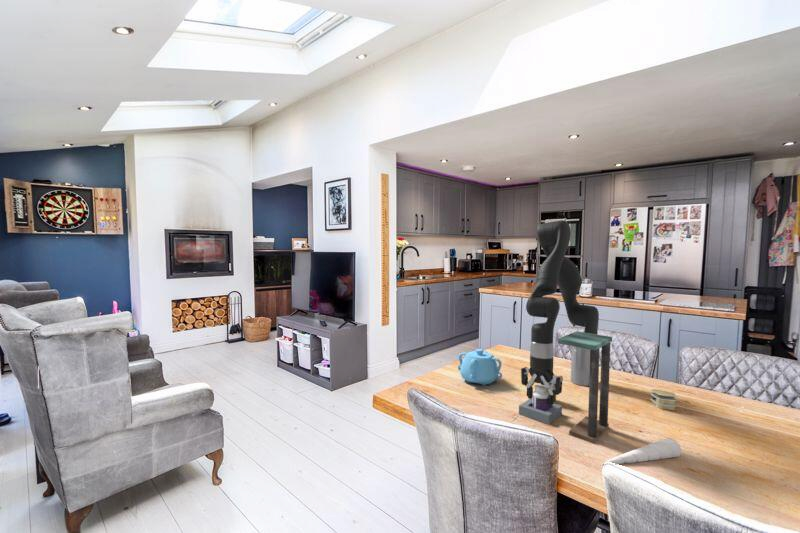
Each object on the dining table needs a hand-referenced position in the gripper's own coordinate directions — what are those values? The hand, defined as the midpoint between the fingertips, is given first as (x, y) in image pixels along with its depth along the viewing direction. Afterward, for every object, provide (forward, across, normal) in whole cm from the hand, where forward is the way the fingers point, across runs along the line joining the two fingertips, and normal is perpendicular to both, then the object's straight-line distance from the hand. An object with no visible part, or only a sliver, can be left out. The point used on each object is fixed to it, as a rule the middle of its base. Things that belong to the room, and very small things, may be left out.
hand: (540, 401), depth 128 cm
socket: (+5, 0, 0) cm, 5 cm away
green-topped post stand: (+5, +14, 0) cm, 15 cm away
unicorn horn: (+5, +32, -6) cm, 33 cm away
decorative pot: (+5, -33, +12) cm, 35 cm away
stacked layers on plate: (+5, +28, +38) cm, 48 cm away
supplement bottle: (+5, -3, +13) cm, 14 cm away
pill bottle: (+5, 0, 0) cm, 5 cm away
